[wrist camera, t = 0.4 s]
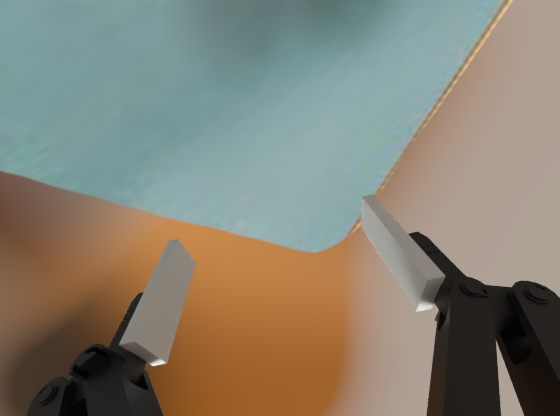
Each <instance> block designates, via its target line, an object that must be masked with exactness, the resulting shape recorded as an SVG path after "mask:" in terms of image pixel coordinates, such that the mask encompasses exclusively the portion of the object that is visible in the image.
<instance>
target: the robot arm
mask: <svg viewBox="0 0 560 416" xmlns="http://www.w3.org/2000/svg"><path fill="white" fill-rule="evenodd" d="M361 227H362V229H363V231H364V232H365V234H366V235H367V237H368V238H369V240H370V242H371V243H372V245H373V246H374V248H375V249H376V251H377V252H378V254H379V256H380V257H381V259H382V260H383V262H384V263H385V265H386V266H387V268H388V269H389V271H390V273H391V274H392V276H393V277H394V279H395V280H396V282H397V283H398V285H399V287H400V288H401V290H402V291H403V293H404V294H405V296H406V297H407V299H408V300H409V302H410V304H411V305H412V307H413V308H414V310H415V311H416V312H418V311H423V310H428V309H431V308H432V306H433V303H435V305H436V306H437V307H438V309H439V311H438V313H437V315H436V318H435V320H436V321H437V328H436V336H435V345H434V354H433V363H432V372H431V381H430V391H429V399H428V408H427V416H501V410H500V395H499V381H498V366H497V352H496V341H497V343H498V346H499V349H500V351H501V354H502V357H503V360H504V362H505V365H506V368H507V370H508V373H509V376H510V378H511V381H512V383H513V386H514V389H515V392H516V395H517V397H518V400H519V403H520V405H521V408H522V410H523V413H524V416H560V298H559V297H558V296H557V295H556V294H555V293H554V292H553V291H551V290H550V289H548V288H547V287H545V286H542V285H540V284H538V283H534V282H530V281H519V282H516V283H515V284H514V285H513V286H512V287H501V286H490V285H484V284H483V283H482V282H480V281H478V280H476V279H473V278H470V277H467V276H465V275H464V274H463V273H462V272H461V271H460V270H459V269H458V268H457V267H456V266H455V265H454V264H453V263H452V262H451V261H450V260H449V259H448V258H447V257H446V256H445V255H444V254H443V253H442V252H441V251H440V250H439V249H438V248H437V246H435V245H434V243H433V242H432V241H431V240H430V239H428V237H426V236H424V235H422V234H421V233H419V232H414V233H410V234H407V232H406V231H405V230H404V229H403V228H402V227H401V225H400V224H399V223H398V222H397V221H396V220H395V219H394V218H393V216H392V215H391V214H390V213H389V212H388V211H387V210H386V209H385V208H384V206H383V205H382V204H381V203H380V202H379V201H378V200H377V199H376V197H375V196H374V195H368V196H364V197H362V206H361ZM194 267H195V262H194V260H193V259H192V258H191V256H190V255H189V253H188V252H187V250H186V249H185V247H184V246H183V244H182V243H181V242H180V240H179V239H175V240H171V241H168V243H167V245H166V247H165V249H164V251H163V253H162V255H161V257H160V259H159V262H158V263H157V266H156V268H155V270H154V272H153V274H152V276H151V278H150V280H149V282H148V284H147V287H146V289H145V291H144V292H143V293H139V294H138V295H137V296H136V298H135V299H134V300H133V301H132V302H131V304H130V306H129V309H128V310H127V313H126V314H125V316H124V318H123V321H122V322H121V324H120V326H119V328H118V330H117V332H116V334H115V336H114V338H113V340H112V342H111V344H110V346H109V348H107V347H105V346H103V345H102V344H95V345H92V346H90V347H88V348H87V349H85V350H84V351H83V352H82V353H81V354H80V355H79V356H78V357H77V358H76V360H75V361H74V362H73V364H72V366H71V368H70V372H69V375H71V376H74V377H73V378H71V379H67V378H65V377H58V378H55V379H53V380H52V381H50V382H49V383H48V384H46V385H45V386H44V387H43V388H42V389H41V390H40V391H39V392H38V394H37V395H36V397H35V398H34V399H33V401H32V403H31V405H30V407H29V410H28V414H27V416H163V414H162V411H161V408H160V406H159V403H158V400H157V397H156V395H155V392H154V389H153V387H152V384H151V381H150V379H149V376H148V373H147V372H146V370H145V369H144V368H145V365H146V362H147V363H149V364H151V365H152V366H156V365H160V364H165V363H167V361H168V357H169V354H170V350H171V347H172V343H173V340H174V336H175V332H176V330H177V326H178V323H179V319H180V316H181V312H182V309H183V305H184V302H185V298H186V295H187V291H188V288H189V284H190V281H191V277H192V274H193V270H194Z"/></svg>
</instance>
